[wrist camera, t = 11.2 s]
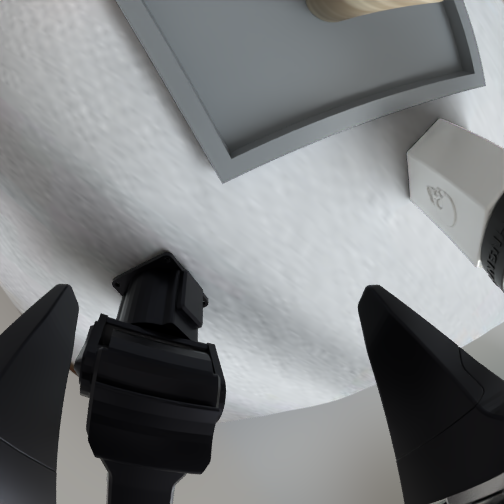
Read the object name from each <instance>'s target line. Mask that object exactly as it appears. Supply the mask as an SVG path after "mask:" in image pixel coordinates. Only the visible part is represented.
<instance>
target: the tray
mask: <svg viewBox="0 0 504 504" xmlns="http://www.w3.org/2000/svg"><path fill="white" fill-rule="evenodd" d="M116 2H117V4H118V5H119V7H120V9H121V10H122V12H123V14H124V15H125V17H126V19H127V21H128V22H129V24H130V26H131V27H132V29H133V31H134V32H135V34H136V36H137V37H138V39H139V41H140V42H141V44H142V46H143V48H144V49H145V51H146V53H147V54H148V56H149V58H150V59H151V61H152V63H153V65H154V66H155V68H156V70H157V71H158V73H159V75H160V77H161V78H162V80H163V82H164V83H165V85H166V87H167V89H168V90H169V92H170V94H171V95H172V97H173V99H174V101H175V102H176V104H177V106H178V107H179V109H180V111H181V113H182V114H183V116H184V118H185V119H186V121H187V123H188V125H189V126H190V128H191V130H192V132H193V133H194V135H195V137H196V139H197V140H198V142H199V144H200V145H201V147H202V149H203V151H204V152H205V154H206V156H207V158H208V159H209V161H210V163H211V165H212V166H213V168H214V170H215V172H216V173H217V175H218V177H219V179H220V180H221V182H222V184H223V183H225V182H227V181H229V180H231V179H234V178H236V177H238V176H240V175H242V174H244V173H246V172H248V171H250V170H253V169H255V168H257V167H259V166H261V165H263V164H266V163H268V162H270V161H272V160H275V159H277V158H279V157H281V156H284V155H286V154H288V153H291V152H293V151H295V150H298V149H300V148H302V147H305V146H307V145H309V144H312V143H314V142H317V141H319V140H322V139H324V138H327V137H329V136H332V135H334V134H337V133H339V132H342V131H344V130H347V129H350V128H352V127H355V126H358V125H360V124H363V123H366V122H369V121H371V120H374V119H377V118H380V117H383V116H385V115H388V114H391V113H394V112H397V111H400V110H403V109H406V108H409V107H412V106H415V105H419V104H422V103H425V102H428V101H432V100H435V99H438V98H442V97H445V96H449V95H452V94H456V93H460V92H463V91H467V90H471V89H475V88H479V87H483V86H486V84H485V78H484V73H483V68H482V63H481V59H480V54H479V50H478V46H477V42H476V39H475V35H474V31H473V28H472V25H471V22H470V19H469V15H468V13H467V10H466V7H465V4H464V1H463V0H443V1H441V2H436V3H427V4H419V5H412V6H406V7H400V8H394V9H389V10H384V11H379V12H374V13H370V14H366V15H362V16H358V17H354V18H350V19H347V20H343V21H340V22H326V21H323V20H321V19H319V18H317V17H316V16H315V15H313V14H312V13H311V11H310V10H309V9H308V7H307V4H306V0H116Z"/></svg>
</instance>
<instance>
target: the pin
mask: <svg viewBox="0 0 504 504" xmlns="http://www.w3.org/2000/svg"><path fill="white" fill-rule="evenodd" d="M441 1H443V0H306V4H307V7H308V9H309V10H310V11H311V13H312V14H313V15H315V16H316V17H317V18H319V19H321V20H323V21H326V22H340V21H343V20H347V19H350V18H354V17H358V16H362V15H366V14H370V13H374V12H379V11H384V10H389V9H394V8H400V7H406V6H412V5H419V4H427V3H436V2H441Z"/></svg>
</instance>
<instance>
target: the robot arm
mask: <svg viewBox="0 0 504 504" xmlns="http://www.w3.org/2000/svg"><path fill="white" fill-rule="evenodd" d="M165 258H169V260H166V259H165ZM117 283H119V284H117ZM112 285H113V287H114V288H115V289H116V290H117V291H118V292H119V293H120V294H121V295H122V296H123V297H122V300H121V304H120V307H119V311H118V314H117V318H116V319H113V318H110V317H108V315H105V314H102V313H101V315H100V317H99V320H98V321H95V324H94V325H93V326H90V329H89V332H88V335H87V339H86V341H85V344H84V346H83V348H82V350H81V351H80V353H79V355H78V357H77V359H76V361H75V365H74V369H75V371H76V373H77V375H78V376H79V384H80V395H82V396H85V397H88V398H90V400H89V407H88V415H87V424H86V430H87V434H88V441H89V444H90V447H91V449H92V451H93V454H94V456H95V457H97V458H100V459H101V461H102V462H103V464H104V466H105V468H106V469H107V471H108V480H107V501H106V504H173V496H174V489H175V485H176V484H177V483H178V482H179V481H180V480H181V479H182V478H183V477H184V476H185V475H186V474H187V473H189V474H202V473H203V472H204V470H205V469H206V467H207V466H208V464H209V463H210V460H211V449H212V439H213V433H214V428H215V424H216V422H217V421H218V420H219V419H220V417H221V415H222V412H223V409H224V405H225V398H226V384H225V379H224V376H223V372H222V369H221V365H220V362H219V358H218V355H217V351H216V347H215V344H211V343H207V344H205V343H201V342H198V328H200V327H202V324H203V308H204V307H206V306H207V305H208V298H207V297H206V296H205V294H204V293H203V289H202V288H201V287H200V285H199V284H198V283H197V282H196V281H195V279H194V278H193V277H192V276H191V274H190V273H189V272H188V271H187V270H184V268H183V267H182V266H181V265H180V263H179V262H178V261H177V260H176V258H175V257H174V256H173V255H172V254H171V253H169V252H165V253H163V254H161V255H159V256H157V257H155V258H153V259H151V260H149V261H147V262H145V263H143V264H141V265H139V266H137V267H135V268H133V269H131V270H129V271H127V272H125V273H123V274H121V275H120V276H118V277H116V278H114V279H113V282H112ZM203 301H204V302H203ZM78 313H79V306H78V302H77V300H76V297H75V295H74V292H73V290H72V287H71V286H70V285H68V284H58V285H56V286H55V287H54V288H52V289H51V290H50V291H49V292H48V293H46V294H45V295H44V296H43V297H42V298H41V299H39V300H38V301H37V302H36V303H35V304H34V305H32V306H31V307H30V308H29V309H28V310H27V311H26V312H25V313H23V314H22V315H21V316H20V317H19V318H18V319H17V320H16V321H15V322H14V323H12V325H10V326H9V327H8V328H7V329H6V330H5V331H4V332H3V333H2V334H1V335H0V504H56V469H57V468H56V467H57V452H58V440H59V430H60V422H61V414H62V407H63V401H64V394H65V389H66V383H67V378H68V373H69V368H70V363H71V358H72V353H73V346H74V339H75V331H76V325H77V319H78ZM358 313H359V317H360V322H361V326H362V331H363V336H364V340H365V345H366V349H367V353H368V357H369V360H370V363H371V366H372V370H373V373H374V376H375V380H376V383H377V387H378V390H379V394H380V397H381V401H382V404H383V408H384V412H385V415H386V419H387V423H388V427H389V431H390V435H391V439H392V444H393V448H394V452H395V457H396V462H397V467H398V472H399V476H400V481H401V487H402V492H403V497H404V502H405V504H430V503H433V502H436V501H439V500H442V499H445V500H444V501H442V502H440V503H439V504H504V380H502V379H501V378H499V377H498V376H497V375H495V374H494V373H493V372H491V371H490V370H488V369H487V368H486V367H484V366H483V365H482V364H480V363H479V362H477V361H476V360H475V359H474V358H473V357H471V356H470V355H469V354H468V353H466V352H465V351H464V350H463V349H462V348H460V347H458V345H457V344H455V343H454V342H453V341H452V340H450V339H449V338H448V337H447V336H445V335H444V334H443V333H442V332H440V331H439V330H438V329H437V328H435V327H434V326H433V325H431V324H430V323H429V322H428V321H426V320H425V319H424V318H422V317H421V316H420V315H419V314H417V313H416V312H415V311H413V310H412V309H411V308H409V307H408V306H407V305H405V304H404V303H403V302H402V301H400V300H399V299H398V298H396V297H395V296H394V295H392V294H391V293H389V292H388V291H387V290H385V289H384V288H383V287H381V286H380V285H368V286H367V287H366V288H365V290H364V292H363V294H362V297H361V299H360V301H359V304H358Z"/></svg>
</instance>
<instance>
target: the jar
mask: <svg viewBox="0 0 504 504" xmlns="http://www.w3.org/2000/svg"><path fill="white" fill-rule="evenodd" d="M407 163H408V174H409V189H410V201H411V202H412V203H413V204H414V205H415V206H416V207H418V208H419V209H420V210H421V211H422V212H423V213H424V214H425V215H426V216H427V217H428V218H429V219H430V220H431V221H432V222H433V223H434V224H435V225H436V226H437V227H438V228H439V229H440V230H441V231H442V232H443V233H444V234H445V235H446V236H447V237H448V238H449V239H450V240H451V241H452V242H453V243H454V244H455V245H456V246H457V247H458V248H459V249H460V251H461V252H462V253H463V254H464V255H465V256H466V257H467V258H468V259H469V260H470V262H471V263H472V264H473V265H474V266H475V267H477V268H484V269H485V271H486V272H487V273H488V274H489V275H488V276H489V277H490V278H491V279H492V281H493V282H494V283H495V284H496V285H497V286H498V287H500V289H501V290H502V291H503V292H504V148H502V147H500V146H499V145H497V144H495V143H493V142H491V141H489V140H487V139H485V138H483V137H481V136H479V135H477V134H475V133H473V132H471V131H469V130H467V129H465V128H463V127H460V126H458V125H456V124H454V123H451V122H449V121H447V120H444V119H442V118H439V119H438V120H437V121H436V122H435V123H434V124H433V125H432V126H431V127H430V129H429V130H428V131H427V132H426V133H425V134H424V135H423V136H422V137H421V138H420V139H419V140H418V141H417V142H416V143H415V144H414V145H413V146H412V147H411V149H410V150H409V151H408V152H407Z"/></svg>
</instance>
